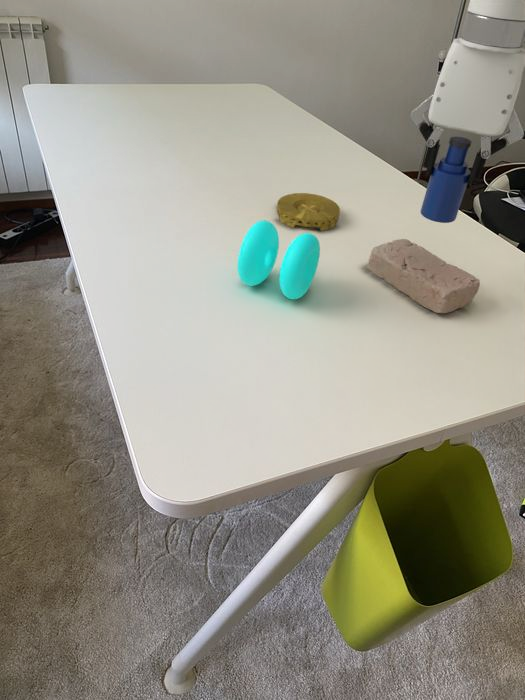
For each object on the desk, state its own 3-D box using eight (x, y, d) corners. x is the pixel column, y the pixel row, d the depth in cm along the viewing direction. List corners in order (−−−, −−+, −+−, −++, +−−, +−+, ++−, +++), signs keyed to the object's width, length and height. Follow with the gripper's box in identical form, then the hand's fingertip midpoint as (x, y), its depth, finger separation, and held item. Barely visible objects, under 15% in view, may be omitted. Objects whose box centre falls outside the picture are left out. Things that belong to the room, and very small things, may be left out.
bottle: (457, 212, 83) (482, 138, 76) (453, 226, 79) (478, 149, 72) (423, 204, 84) (444, 131, 77) (417, 217, 80) (439, 141, 73)
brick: (363, 269, 92) (369, 244, 89) (398, 257, 96) (404, 233, 93) (439, 320, 82) (448, 294, 79) (474, 305, 87) (484, 280, 84)
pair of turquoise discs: (260, 265, 91) (266, 208, 84) (317, 283, 88) (326, 225, 81) (232, 293, 83) (236, 233, 77) (293, 313, 80) (301, 253, 74)
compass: (336, 206, 111) (338, 196, 110) (339, 234, 102) (341, 223, 100) (277, 200, 111) (278, 190, 110) (275, 227, 102) (276, 216, 100)
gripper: (567, 40, 67) (512, 182, 79) (428, 18, 72) (395, 157, 83) (569, 49, 62) (509, 201, 73) (418, 26, 66) (384, 173, 77)
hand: (449, 176), depth 78 cm, fingers closed on bottle, 5 cm apart
